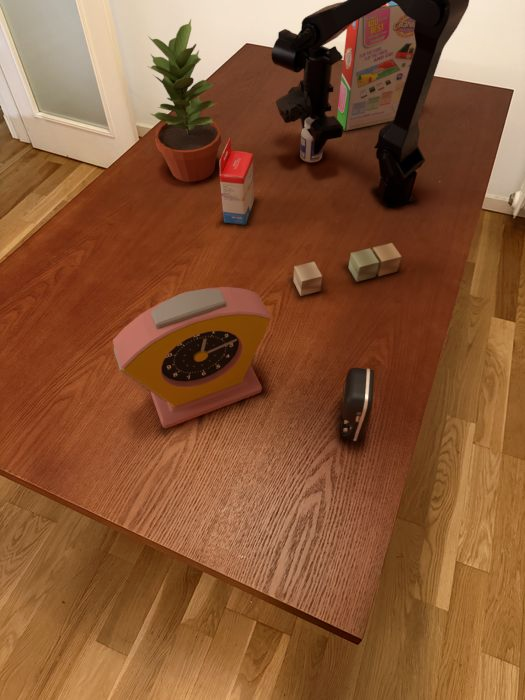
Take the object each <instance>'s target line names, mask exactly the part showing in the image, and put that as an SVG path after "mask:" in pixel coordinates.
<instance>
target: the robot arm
mask: <svg viewBox="0 0 525 700" xmlns="http://www.w3.org/2000/svg"><path fill="white" fill-rule="evenodd" d="M391 1H393V2H395V3H396V4H397V5H398V6H399V7H400V8H401V10H402V11H403V12H404V14H405V15H406V16H408V17H410V18H411V19H413V20H415V24H414V35H415V42H416V47H415V51H414V54H413V58H412V61H411V64H410V68H409V71H408V74H407V78H406V81H405V84H404V88H403V91H402V95H401V98H400V101H399V105H398V108H397V111H396V115H395V118H394V120H392V121H391V122H387V123H386V125H384V126H383V127H382V128H380V129H379V132H378V138H377V142H376V145H374V149H376V152H375V157H376V159H377V160H378V168H379V176H380V180H379V184H378V187H376V188H375V193H376V194H377V195H378V197H379V198H380V199H381V201H382V202H383V203H384V205H385V206H386V207H387V208H393V207H399V206H402V205H403V206H404V205H407V204H411V203H414V202H415V198H414V197H413V195H412V193H413V190H414V187H415V183H416V179H417V177H418V176H417V175H418V172H417V170H418V169H420V168H421V167H422V166H423V164H424V163H425V161H426V159H425V157H424V155H423V153H422V151H421V149H420V147H419V139H420V134H421V133H420V128H419V120H420V118H421V114H422V111H423V109H424V106H425V103H426V100H427V97H428V94H429V92H430V88H431V86H432V82H433V79H434V77H435V73H436V71H437V68H438V65H439V62H440V59H441V56H442V53H443V51H444V48H445V46H446V45H447V44H448V42H449V40H450V39H451V37H452V36H453V34H454V32H456V30H457V28H458V26H459V25H460V23H461V21H462V19H463V18H464V15H465V13H466V11H467V10H468V8H469V4H470V0H344V1H340V2H336V3H333V4H329V5H326V6H324V7H322V8H320V9H319V10H316V11H315V12H313V13H311V14H309V15H307V16H305V17H304V18H303V19H302V21H301V28H300V31H299V32H298V33H295V32H292V31H290V30H289V29H286V28H284V29H282V30H280V31H279V32H277V33H278V34H277V35H278V36H277V39H275V42H274V44H273V47H272V50H271V53H270V54H271V61H272V63H273V64H274V65H275V66H278V67H280V68H283V69H285V70H288V71H291V72H293V73H296V74H298V73H300V72H301V71H302V70H303V76H302V77H303V79H301V80H299V83H298V85H296V86H291V88H290V89H289V90H288V91H287V94H285V95H283V96H281V97H279V98H278V99H277V100H275V104H276V108H277V110H278V113H279V115H280V117H281V118H282V120H283V122H284V123H285V124H290V123H292V122H293V123H294V122H296V121H298V120H300V122H301V127H302V129H303V128H305V127H304V123H305V119H306V118H308V117H310V118H311V119H312V120H314V119H315V120H314V121H313V122H312V123H311V125H310V128H309V129H307V130H308V132H309V133H310V135H311V136H312V138H313V151H314V154H318V153H319V152H320V150H321V149H322V147H323V148H324V147H325V144H326V143H327V141H329V140H333V139H338V138H342V137H343V133H344V130H343V126H342V125H341V123H340V122H339V121H338V119H337V116H335V115H331V116H328V115H327V114H326V113H327V112H331V111H332V105H331V104H330V103H329V101H330V100H329V99H330V93H333V92H334V86H333V84H332V83H331V82H332V81H331V79H332V69H333V65H335V64H336V63H338V62H340V61H341V60H342V59H344V56H343V54H342V53H341V52H340V51H339V50H338V49H337V47H336V45H334V46H332V47H330V48H329V47H326V46H325V45H327V44H329V43H330V42H332V41H333V40H335V39H336V38H339V36H340V35H342V34H343V33H344V32H346V31H347V28H348V27H349V26H350V25H351V24H352V23H353V22H354V21H356V20H358V19H360V18H361V17H363V16H365V15H367V14H369V13H371V12H372V11H374V10H376V9H378V8H380V7H382V6H383V5H385V4H387V3H389V2H391Z"/></svg>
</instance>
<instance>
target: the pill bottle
mask: <svg viewBox="0 0 525 700" xmlns="http://www.w3.org/2000/svg"><path fill="white" fill-rule="evenodd" d="M314 120H315V119H314ZM314 120H312V119H311V118H310V117H308V118H306V119H305V123H304V127H305V128H302V129H301V132H300V146H299V147H300V149H299V157H300V159H301V160H302V161H304V162H306V163H316V162H319V161H320V160H321V159H322V158H323V152H324V146H323V147H322V149H321V150H320V152H319V153H318V154H314V151H313V138H312V136H311V135H310V133H309V132H308V130H307V129H309V128H310V125H311V123H312V122H313V121H314Z"/></svg>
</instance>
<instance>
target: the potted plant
mask: <svg viewBox="0 0 525 700" xmlns="http://www.w3.org/2000/svg"><path fill="white" fill-rule="evenodd" d="M191 32H192V19H189V22H188V23H187V24H183V25H181V26H180V27H179V29H178V31H177V32H176V36H175V37H174V38H171V39H170V40H169V41H168V44H166V43H165V42H164V41H162V40H160V39H158V38H151V37H150V36H149V35H147V36H148V38H149V40H151V42H153V44H154V45H155V46H156V47H157V48H158V49H159V50H160V52H161V53H163V55H164V56H165V57H166V58H165V57H163V56H154V55H153V54H151V53H150V56H151V57H152V62H153V64H154V65H151V66H148V68H149V69H151V70H153V71H155V72H157V73H159V74H161V75H162V76H163V78H162V79H161V78H160V77H158V76H155V75H154V74H152V76H154V77H155V78H156V79H157V80H158V81H159V82H160V83H161V84H162V85H163V87H164V90H165V91H166V93H167V95H168V97H166V99H167V100H168V101H170V102H172V103H173V104H169V103H161V104H159V107H157V108H159V109H161V110H166V111H171V112H174V113H175V114H176V115H175V116H174V115H172V114H169V113H166V112H162V111H161V112H160V111H159V112H156V113H155V114H153V113H150V115H151V116H153V117H154V118H155V119H157V120H159V121H161V122H163V123H162V124H160V125H159V126H158V127H157V129H156V130H155V132H154V140H155V145H156V148H157V150H158V151H159V153H161V154H162V156H163V158H164V160H165V162H166V164H167V166H168V168H169V171H170V172H171V174H172V176H173V177H174V178H175V179H177V180H178V181H182V182H187V183H188V182H189V183H191V182H199V181H204V180H206V179H207V178H209V177H210V176H211V175H212V174H213V173H214V171H215V168H216V162H217V156H218V151H219V148H220V146H221V145H222V133H221V127H220V126H219V124H218V123H217V122H216V121H214V120H213V118H212V117H211V116H201V113H202V112H203V111H205V110H207V109H209V108H212V107H214V106H215V105H218V102H215V103H214V102H213V100H206V101H203V102H202V100H200V95H201V94H203V93H205V92H206V91H208V90H210V89H211V88H212V87H213V86H214V85H215V83H213V84H211V83H210V82H209V81H207V80H206V79H202V80H199V81H198V82H196V83H195V84H194V77H191V76H192V74H193V72H194V69H195V67H196V65H197V64H199V62H200V61H201V60H202V58H201V57H199V52H200V50H197V52H196V53H195V54H194V53H193V52H194V50H195V48H196V47H197V43H194V44H193V46H191V47H188V43H189V39H190V36H191ZM187 47H188V48H187ZM189 88H190V89H189Z"/></svg>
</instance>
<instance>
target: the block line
mask: <svg viewBox="0 0 525 700" xmlns="http://www.w3.org/2000/svg"><path fill="white" fill-rule="evenodd" d="M401 260H402V255H401V253H400V252H399V251H398V249H397V248H396V246H395V245H394V243H392V242H389V243H386V244H381V245H377V246H373V247H372V249H371V248H365V249H362V250H361V249H360V250H358V251H353V252H350V256H349V261H348V266H347V268H348V270H349V272H350V273H351V275H352V277H353V278H354V280H355V282H356V283H358V282H361V281H365V280H369V279H373V278H376V277H377V276H378V277H381V276H384V275H385V276H386V275H389V274H393V273H398V270H399V266H400V263H401ZM322 280H323V275H322V273H321V271H320V269H319V267H318V266H317V264H316V262H315V261H311V262H308V263H302V264H298V265H294V266H293V281H292V282H293V284H294V285H295V287H296V290H297V291H298V294H299V295H300V296H301V297H302V296H307V295H311V294H314V293H318V292H321V288H322Z"/></svg>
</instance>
